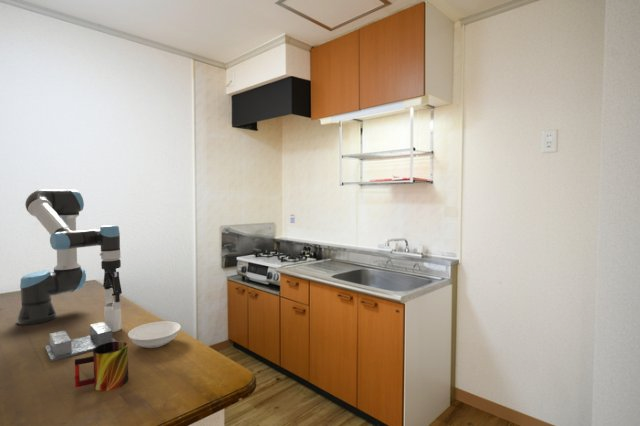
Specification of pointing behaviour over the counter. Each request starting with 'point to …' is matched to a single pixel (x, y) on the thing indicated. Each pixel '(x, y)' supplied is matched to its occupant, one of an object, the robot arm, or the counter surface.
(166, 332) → the bowl
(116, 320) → the can
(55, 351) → the gray metal fixture
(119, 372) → the mug
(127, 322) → the counter surface
